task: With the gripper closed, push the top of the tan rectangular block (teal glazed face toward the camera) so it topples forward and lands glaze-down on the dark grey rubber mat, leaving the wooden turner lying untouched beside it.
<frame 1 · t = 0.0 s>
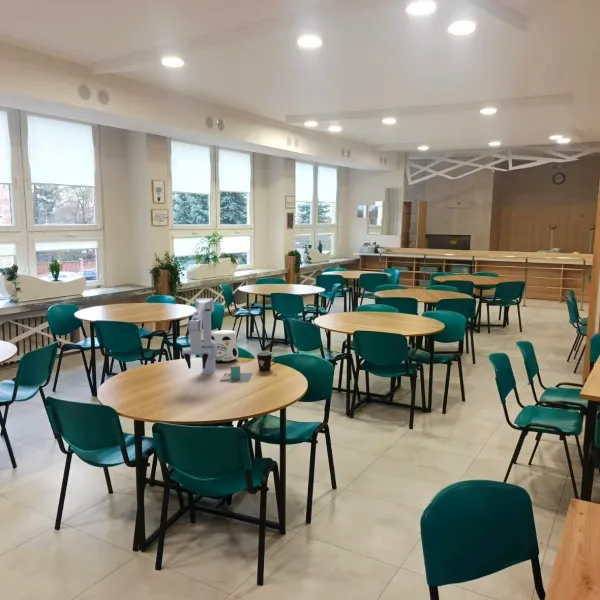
hand: (196, 368, 287), 10 cm above the table, fingers open, 7 cm apart
mat: (236, 378, 303), on the table
coffee mug: (266, 371, 318), on the table
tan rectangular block: (235, 378, 301), resting on mat
milk container: (224, 360, 344), on the table
turner: (226, 378, 303), resting on mat
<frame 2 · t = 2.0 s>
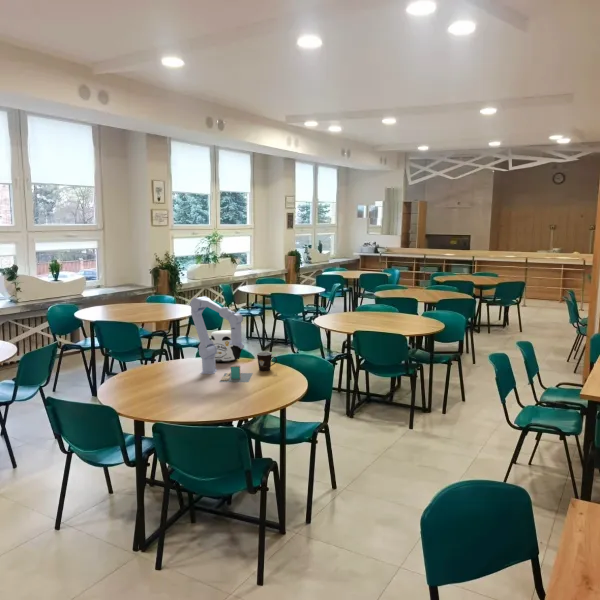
hand: (237, 359, 306), 10 cm above the table, fingers closed
nothing on the table moved.
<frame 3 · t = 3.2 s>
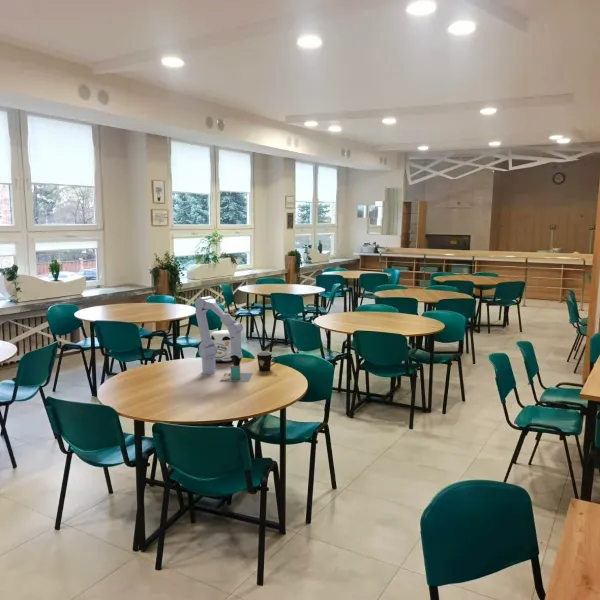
hand: (236, 368, 304), 5 cm above the table, fingers closed
nothing on the table moved.
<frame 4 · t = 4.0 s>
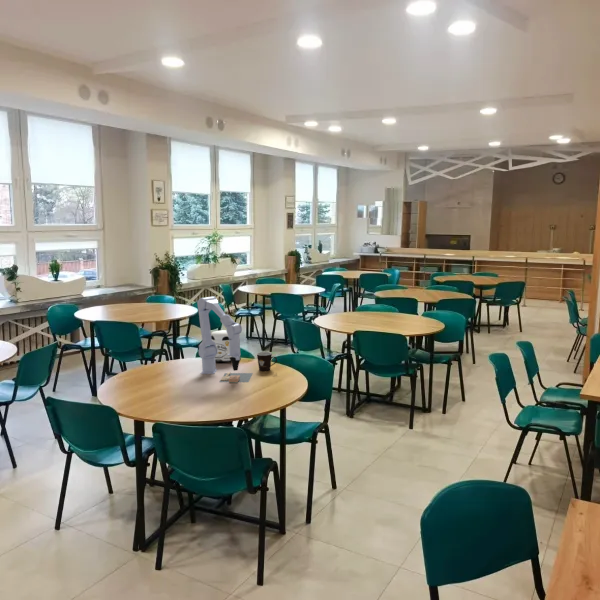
hand: (235, 370, 300), 5 cm above the table, fingers closed
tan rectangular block: (235, 377, 300), point 1 cm above the table, tilted 90°, touching mat
everything else where it was.
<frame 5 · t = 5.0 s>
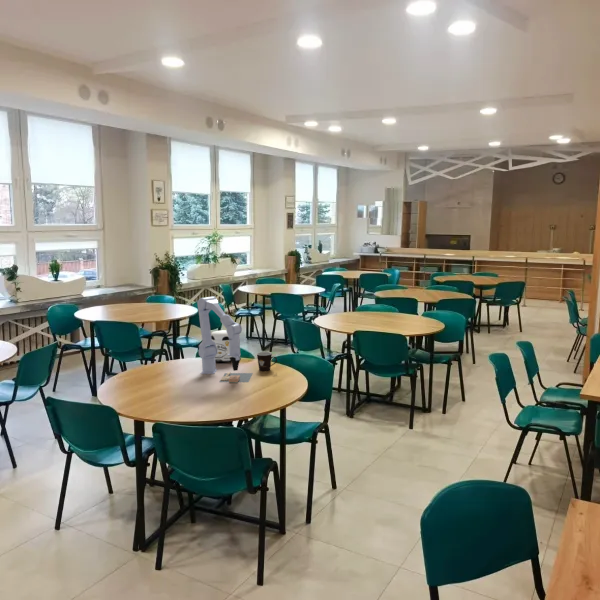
hand: (235, 370, 300), 5 cm above the table, fingers closed
nothing on the table moved.
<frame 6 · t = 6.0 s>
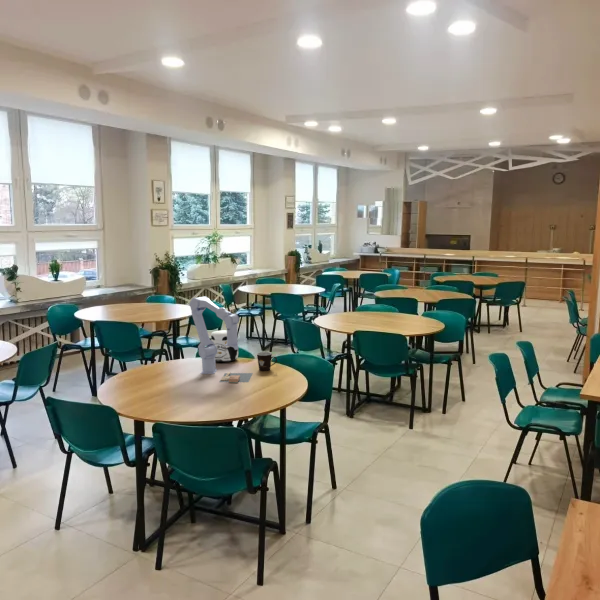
hand: (232, 360, 304), 10 cm above the table, fingers closed
nothing on the table moved.
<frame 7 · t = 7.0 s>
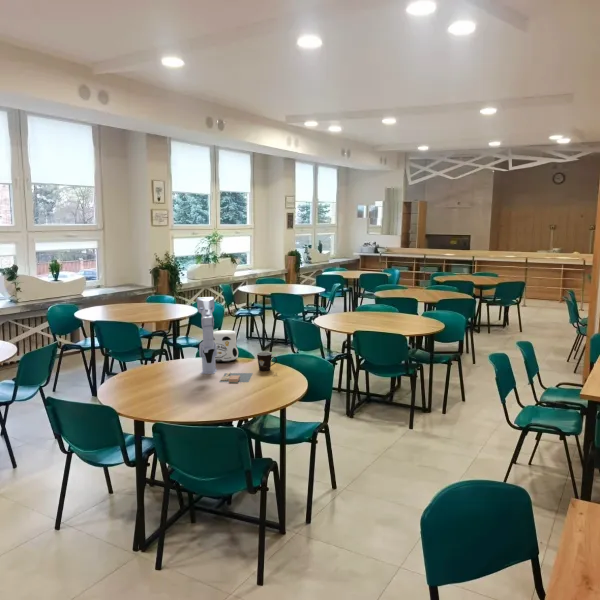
hand: (209, 362, 299), 10 cm above the table, fingers closed
nothing on the table moved.
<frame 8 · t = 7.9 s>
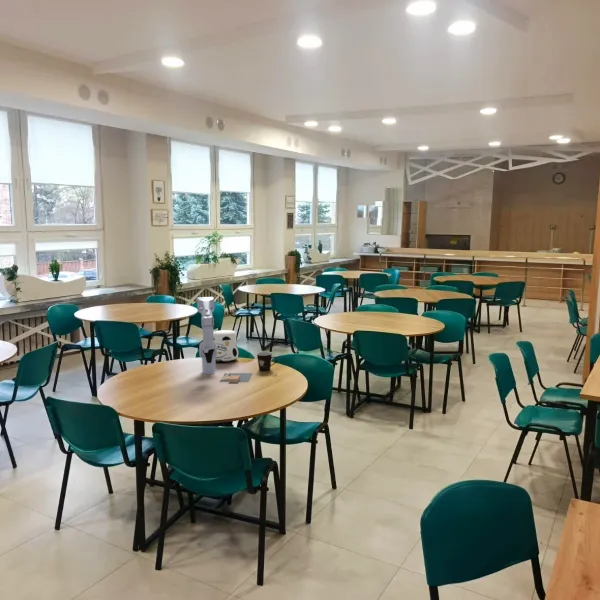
hand: (209, 362, 299), 10 cm above the table, fingers closed
nothing on the table moved.
at the end: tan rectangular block tilted 90°; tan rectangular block inside the target area on the mat (1.3 cm from its centre), point 1.4 cm above the mat's base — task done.
